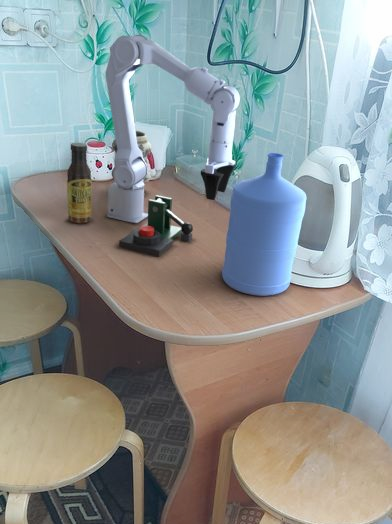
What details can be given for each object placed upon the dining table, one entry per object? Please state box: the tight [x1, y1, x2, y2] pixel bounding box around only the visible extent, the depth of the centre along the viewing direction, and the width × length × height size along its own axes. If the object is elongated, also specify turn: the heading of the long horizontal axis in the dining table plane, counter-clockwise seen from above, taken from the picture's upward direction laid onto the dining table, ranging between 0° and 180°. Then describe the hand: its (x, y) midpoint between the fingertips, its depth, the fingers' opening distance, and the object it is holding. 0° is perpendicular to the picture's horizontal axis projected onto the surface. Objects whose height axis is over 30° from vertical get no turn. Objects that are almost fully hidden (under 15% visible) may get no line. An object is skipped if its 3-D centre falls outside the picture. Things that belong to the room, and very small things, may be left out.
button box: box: [118, 228, 174, 258], centre depth 128 cm, size 11×8×4 cm
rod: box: [156, 198, 194, 234], centre depth 133 cm, size 12×3×3 cm, turn 68°
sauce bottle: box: [66, 142, 92, 224], centre depth 135 cm, size 6×6×20 cm
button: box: [138, 225, 154, 237], centre depth 127 cm, size 4×4×2 cm
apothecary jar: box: [111, 130, 152, 197], centre depth 158 cm, size 12×12×18 cm
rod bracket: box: [135, 194, 183, 241], centre depth 134 cm, size 10×9×9 cm
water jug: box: [221, 152, 307, 297], centre depth 110 cm, size 16×16×28 cm
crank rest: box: [179, 232, 193, 243], centre depth 134 cm, size 2×2×2 cm
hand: (215, 195), depth 135 cm, fingers open, 7 cm apart
